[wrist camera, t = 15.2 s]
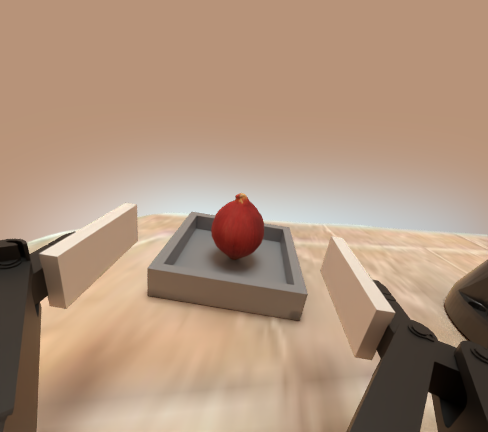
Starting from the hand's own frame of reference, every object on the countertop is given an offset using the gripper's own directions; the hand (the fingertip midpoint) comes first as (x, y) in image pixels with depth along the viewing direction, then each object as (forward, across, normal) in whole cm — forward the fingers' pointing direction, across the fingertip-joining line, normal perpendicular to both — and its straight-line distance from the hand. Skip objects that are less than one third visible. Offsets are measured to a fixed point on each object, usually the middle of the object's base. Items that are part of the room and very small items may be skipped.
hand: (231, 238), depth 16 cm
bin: (+10, 0, -8) cm, 13 cm away
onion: (+10, 0, -8) cm, 12 cm away
